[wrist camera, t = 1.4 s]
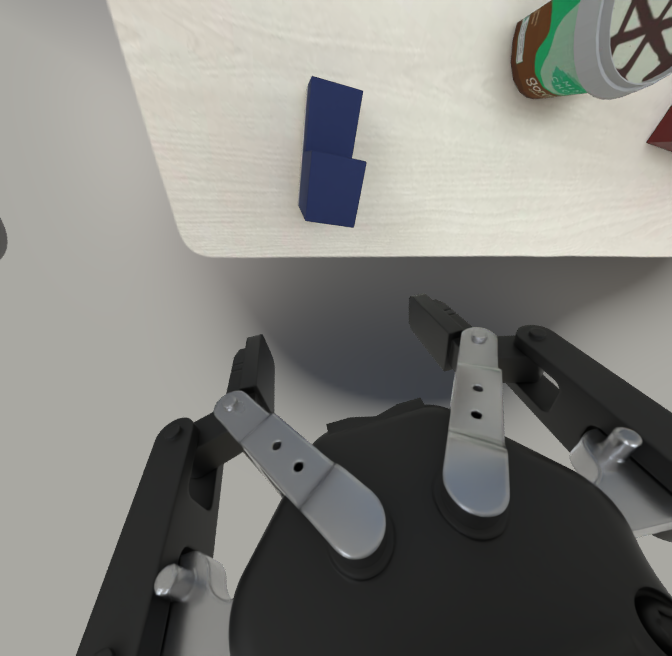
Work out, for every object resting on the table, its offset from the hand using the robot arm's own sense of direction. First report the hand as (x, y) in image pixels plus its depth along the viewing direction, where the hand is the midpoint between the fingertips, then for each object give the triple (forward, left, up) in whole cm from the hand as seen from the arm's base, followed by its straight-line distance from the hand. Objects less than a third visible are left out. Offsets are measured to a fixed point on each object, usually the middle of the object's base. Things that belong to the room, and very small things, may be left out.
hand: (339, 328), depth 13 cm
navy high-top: (+1, +8, -21) cm, 23 cm away
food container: (+23, +19, -21) cm, 37 cm away
